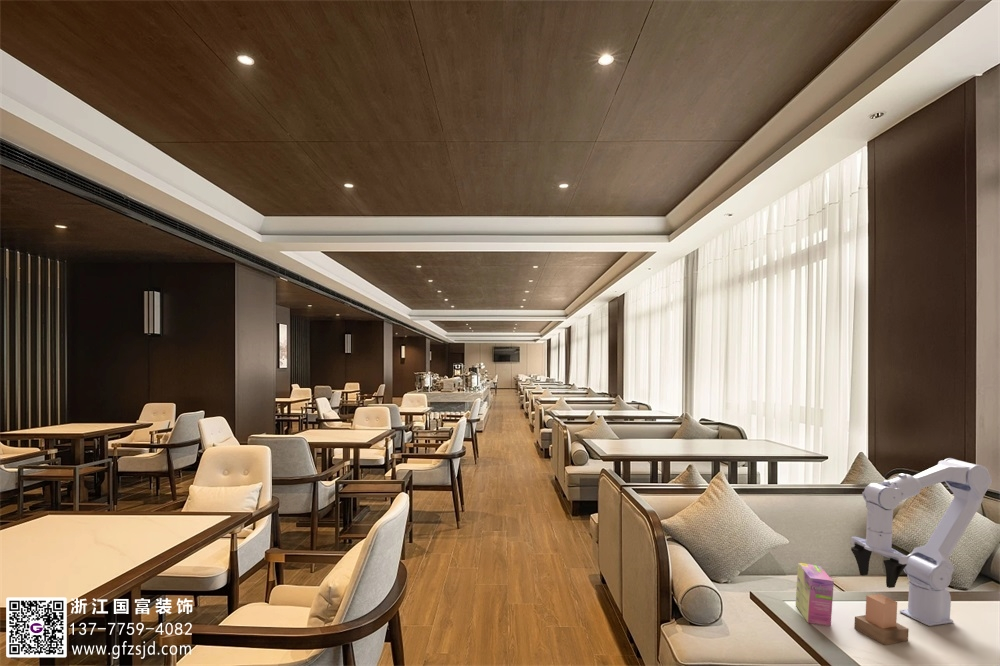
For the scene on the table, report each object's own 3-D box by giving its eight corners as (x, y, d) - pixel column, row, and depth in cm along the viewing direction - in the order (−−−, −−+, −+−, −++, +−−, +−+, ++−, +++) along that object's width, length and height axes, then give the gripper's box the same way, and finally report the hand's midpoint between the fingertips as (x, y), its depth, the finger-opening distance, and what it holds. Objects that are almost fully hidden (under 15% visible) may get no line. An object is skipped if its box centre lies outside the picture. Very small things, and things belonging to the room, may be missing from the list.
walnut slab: (877, 624, 148) (878, 613, 148) (908, 640, 140) (908, 628, 140) (854, 628, 145) (854, 616, 145) (884, 644, 138) (884, 632, 138)
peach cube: (878, 617, 146) (879, 593, 146) (896, 626, 141) (897, 601, 141) (865, 619, 144) (866, 595, 144) (882, 628, 140) (884, 603, 140)
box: (831, 626, 146) (834, 580, 146) (807, 623, 147) (809, 577, 147) (817, 608, 156) (819, 565, 156) (795, 605, 157) (797, 562, 157)
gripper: (843, 521, 158) (841, 570, 157) (894, 540, 144) (892, 594, 144) (862, 520, 160) (860, 568, 160) (914, 538, 146) (912, 591, 146)
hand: (876, 580), depth 152 cm, fingers open, 7 cm apart
